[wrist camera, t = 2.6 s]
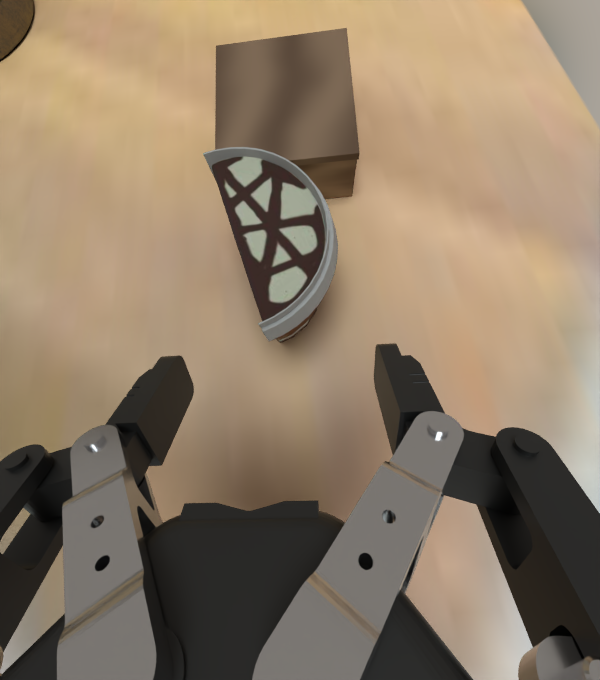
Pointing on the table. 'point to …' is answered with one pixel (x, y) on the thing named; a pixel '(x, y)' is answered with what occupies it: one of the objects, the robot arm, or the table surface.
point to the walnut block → (292, 104)
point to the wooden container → (13, 23)
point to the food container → (277, 234)
